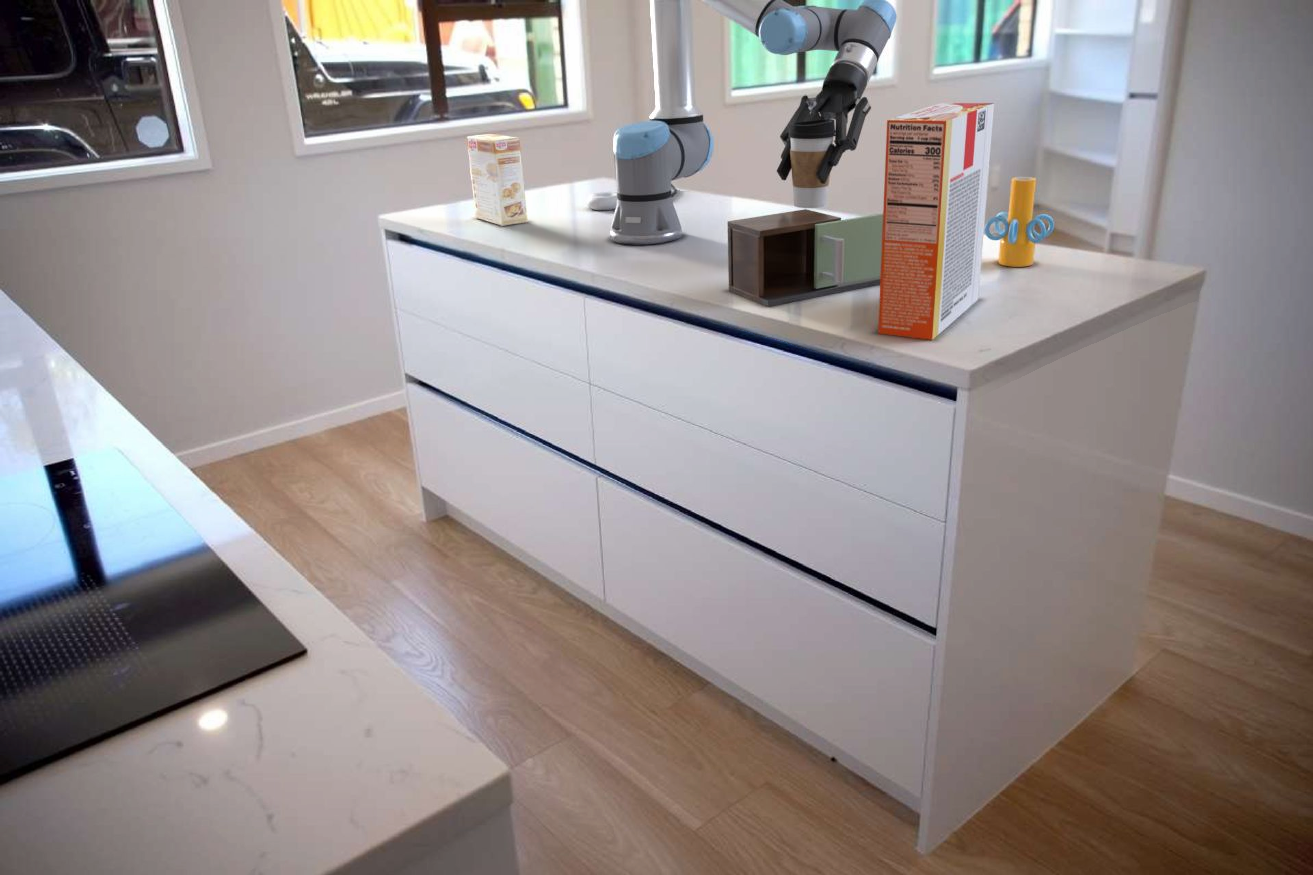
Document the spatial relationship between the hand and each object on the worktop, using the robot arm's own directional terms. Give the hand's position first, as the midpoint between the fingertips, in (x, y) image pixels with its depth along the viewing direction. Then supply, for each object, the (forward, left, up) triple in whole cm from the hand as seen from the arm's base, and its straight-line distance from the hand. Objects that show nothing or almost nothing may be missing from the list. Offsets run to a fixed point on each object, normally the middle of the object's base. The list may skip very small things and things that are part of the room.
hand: (800, 177), depth 179 cm
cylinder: (-6, +38, -16) cm, 42 cm away
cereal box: (+29, +25, -16) cm, 42 cm away
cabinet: (+14, +5, -16) cm, 22 cm away
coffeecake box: (-37, -79, -16) cm, 89 cm away
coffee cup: (-3, +1, -6) cm, 7 cm away
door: (+17, +13, -15) cm, 26 cm away
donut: (-54, -58, -16) cm, 81 cm away
